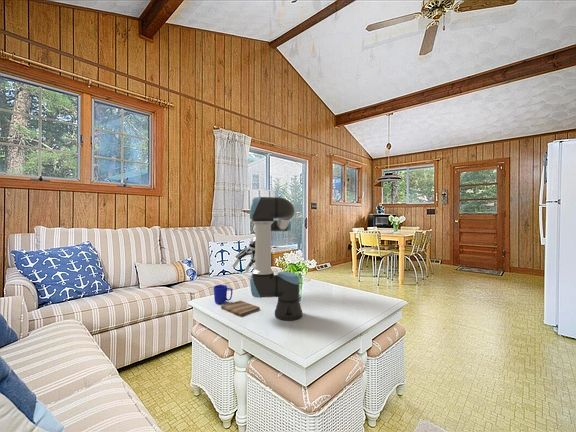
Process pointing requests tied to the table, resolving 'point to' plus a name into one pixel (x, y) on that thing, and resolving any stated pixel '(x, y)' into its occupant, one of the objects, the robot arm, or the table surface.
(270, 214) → the robot arm
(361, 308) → the table surface
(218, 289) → the mug
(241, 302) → the walnut board
